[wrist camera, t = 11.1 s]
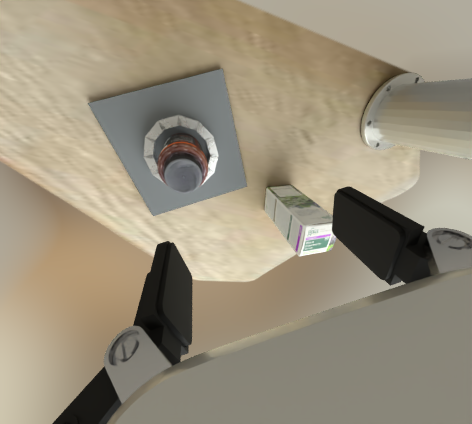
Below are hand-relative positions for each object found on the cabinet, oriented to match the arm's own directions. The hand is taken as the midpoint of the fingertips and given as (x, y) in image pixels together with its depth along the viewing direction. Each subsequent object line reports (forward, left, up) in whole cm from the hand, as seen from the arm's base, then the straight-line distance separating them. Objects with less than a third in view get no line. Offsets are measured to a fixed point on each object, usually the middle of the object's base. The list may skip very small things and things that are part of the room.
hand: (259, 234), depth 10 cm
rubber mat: (+4, -1, -24) cm, 24 cm away
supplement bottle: (+4, -1, -23) cm, 24 cm away
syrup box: (-11, +13, -24) cm, 30 cm away
